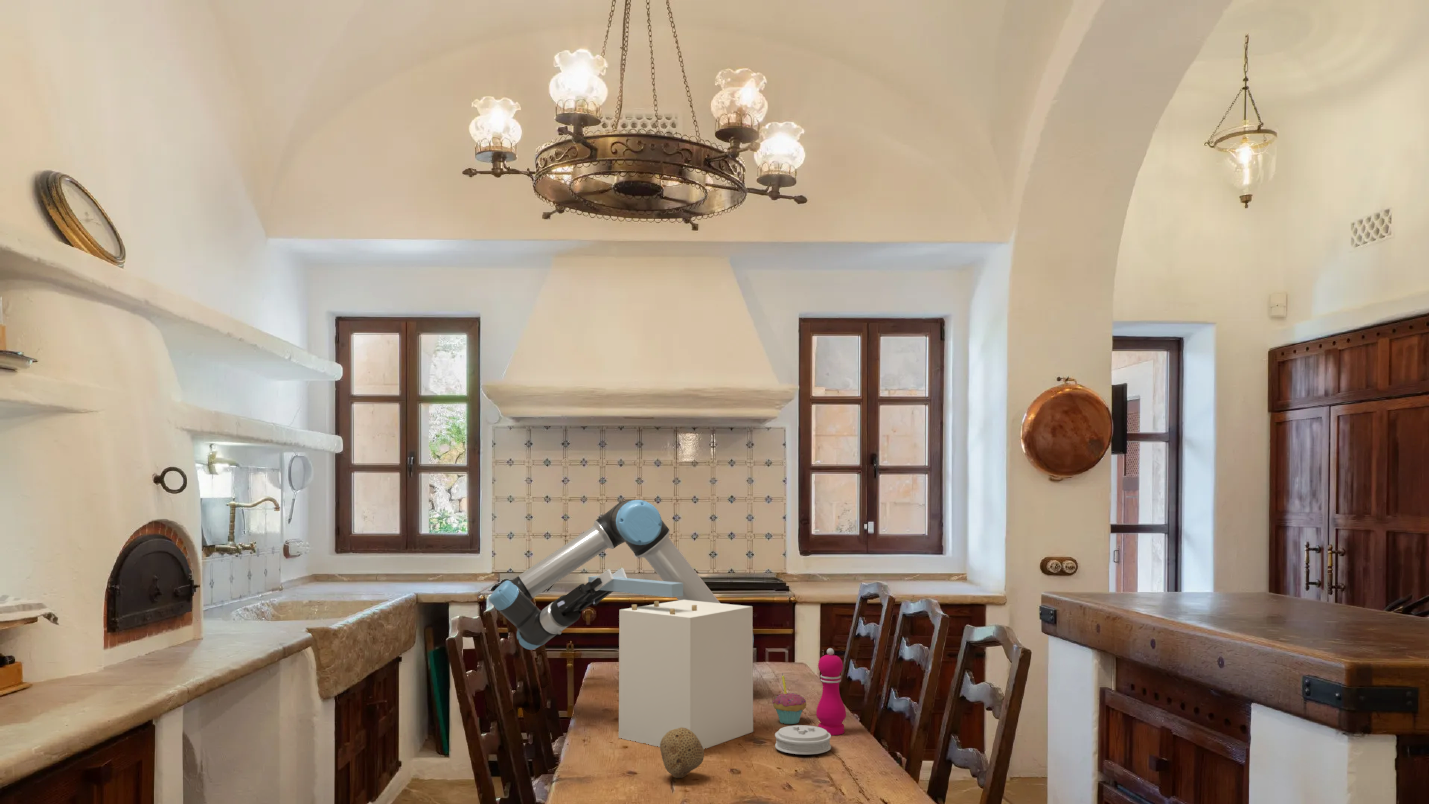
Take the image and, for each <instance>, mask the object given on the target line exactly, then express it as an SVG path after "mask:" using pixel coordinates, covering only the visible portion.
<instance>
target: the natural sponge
mask: <svg viewBox="0 0 1429 804" xmlns="http://www.w3.org/2000/svg"><path fill="white" fill-rule="evenodd" d="M659 748H660V755H661V759H662V763H663V765H664V768H665V770H666V771H667V772H668V773H669V774H670V775H671V776H672V777H673V778H675V779H682V778H685V777H686V776H687V775H688V774H689V773H690V772H691V771H694V770H695V769H697V768H698V767H700V766H701V765H702V763H703V762H704V758H705V749H703V747H702V745H701V743H700V741H699V739H698V738H697V736H696V735H695V734H694V733H693V732H692V731H690V730H689V729H686V728H682V727H680V728H678V729H673V730H671V731H669V732H667V733H666V734H665V735H664V737H663V738H662V740H661V743H660V747H659Z"/></svg>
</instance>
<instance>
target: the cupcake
mask: <svg viewBox="0 0 1429 804" xmlns="http://www.w3.org/2000/svg"><path fill="white" fill-rule="evenodd" d="M781 681H782V686H783V692H782V693H780V694H778V695H777V696H775V697H774V698H773V700H772V702H771V703H772V705H773V708H774V710H775V711H776V713H777V715H778V719H779V722H780V723H781V724H783V723H784V725H797V724H798V723H799V722H800V719H801V716H802V713H803V711H804V710H805V709H806V708H807V701H806V699H805V697H804V696H802V695H800V694H798V693H794V692H787V685H786V679H785V675H784V673H783V672H781Z"/></svg>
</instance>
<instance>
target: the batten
mask: <svg viewBox="0 0 1429 804" xmlns="http://www.w3.org/2000/svg"><path fill="white" fill-rule="evenodd" d="M598 576H599V575H594V576H593V575H592V576H588V579H587V581H588V582H592V581H593V580H594V579H595V578H597V577H598ZM613 578H614V579H613V580H612V581H610V582H609V583H607V584H606V585H605V586H603V587H602V588H601V589H599V590H605V591H613V593H614V592H615V593H616V592H617V593H625V594H627V593H628V594H635V595H645V596H646V595H647V596H656V597H664V598H665V597H666V598H676V597H677V596H683V583H678V582H667V581H663V580H654V579H644V578H643V579H642V578H629V577H627V578H621V577H613ZM588 582H587V583H588Z"/></svg>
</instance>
